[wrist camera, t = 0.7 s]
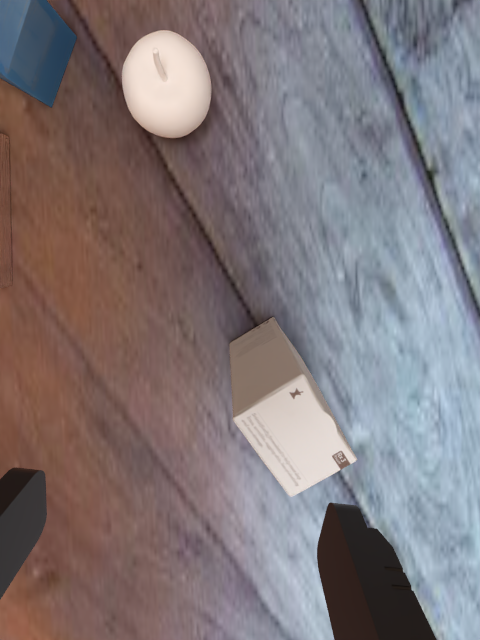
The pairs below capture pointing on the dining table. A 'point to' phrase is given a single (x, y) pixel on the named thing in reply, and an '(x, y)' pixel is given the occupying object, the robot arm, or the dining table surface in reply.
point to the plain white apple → (166, 84)
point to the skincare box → (284, 410)
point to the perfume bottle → (34, 47)
